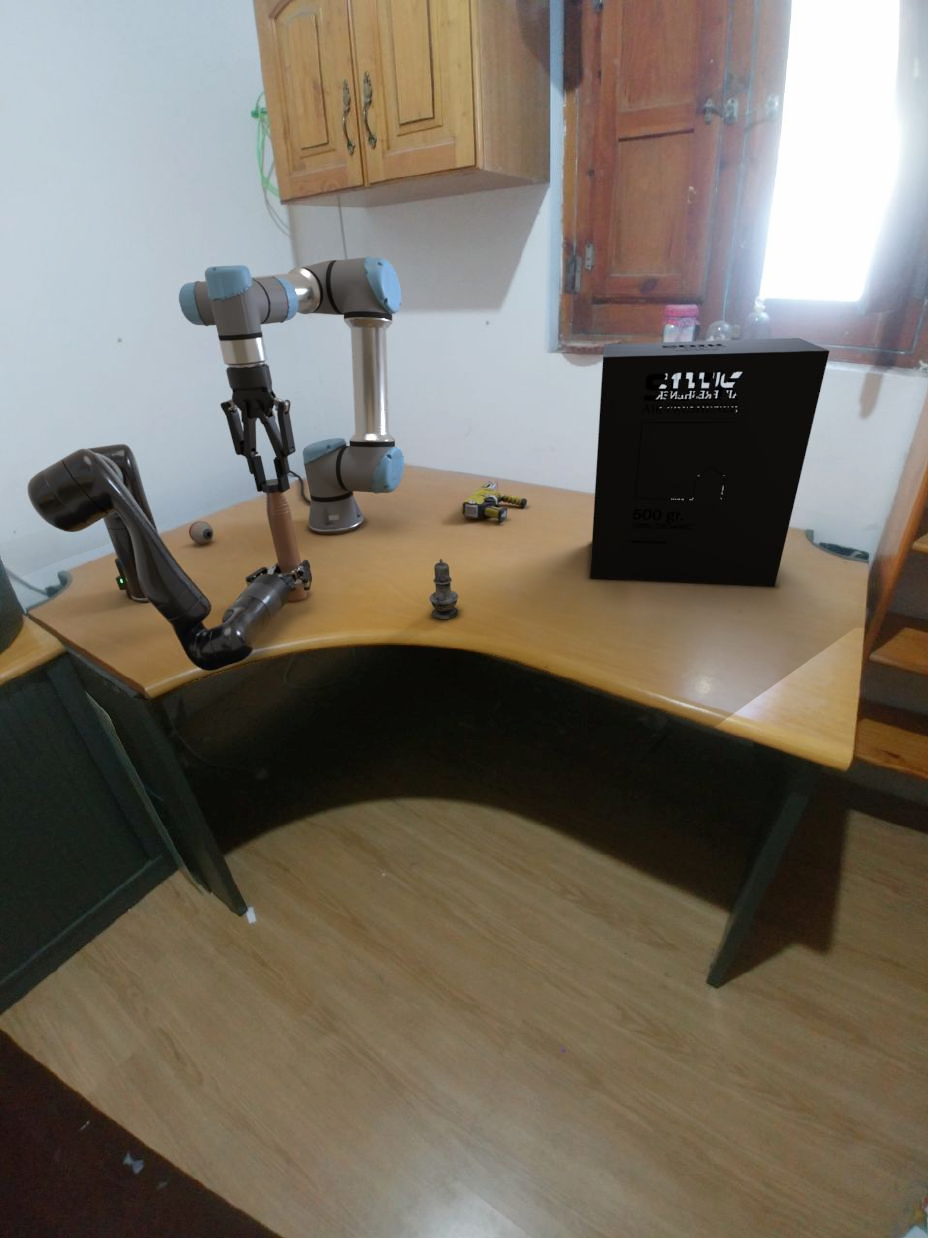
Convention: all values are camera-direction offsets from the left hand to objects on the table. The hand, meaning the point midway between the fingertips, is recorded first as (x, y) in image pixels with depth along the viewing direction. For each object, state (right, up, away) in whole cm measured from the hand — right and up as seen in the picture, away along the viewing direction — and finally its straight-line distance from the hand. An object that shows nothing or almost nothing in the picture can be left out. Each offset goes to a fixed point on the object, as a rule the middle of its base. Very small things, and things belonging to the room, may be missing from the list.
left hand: (295, 563), depth 131 cm
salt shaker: (+33, -11, -9) cm, 36 cm away
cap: (-1, +15, -12) cm, 19 cm away
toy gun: (+47, +20, +43) cm, 67 cm away
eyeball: (-33, +8, +31) cm, 46 cm away
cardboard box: (+85, +1, +6) cm, 85 cm away
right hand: (-1, +14, -11) cm, 18 cm away
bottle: (0, -7, +1) cm, 7 cm away
